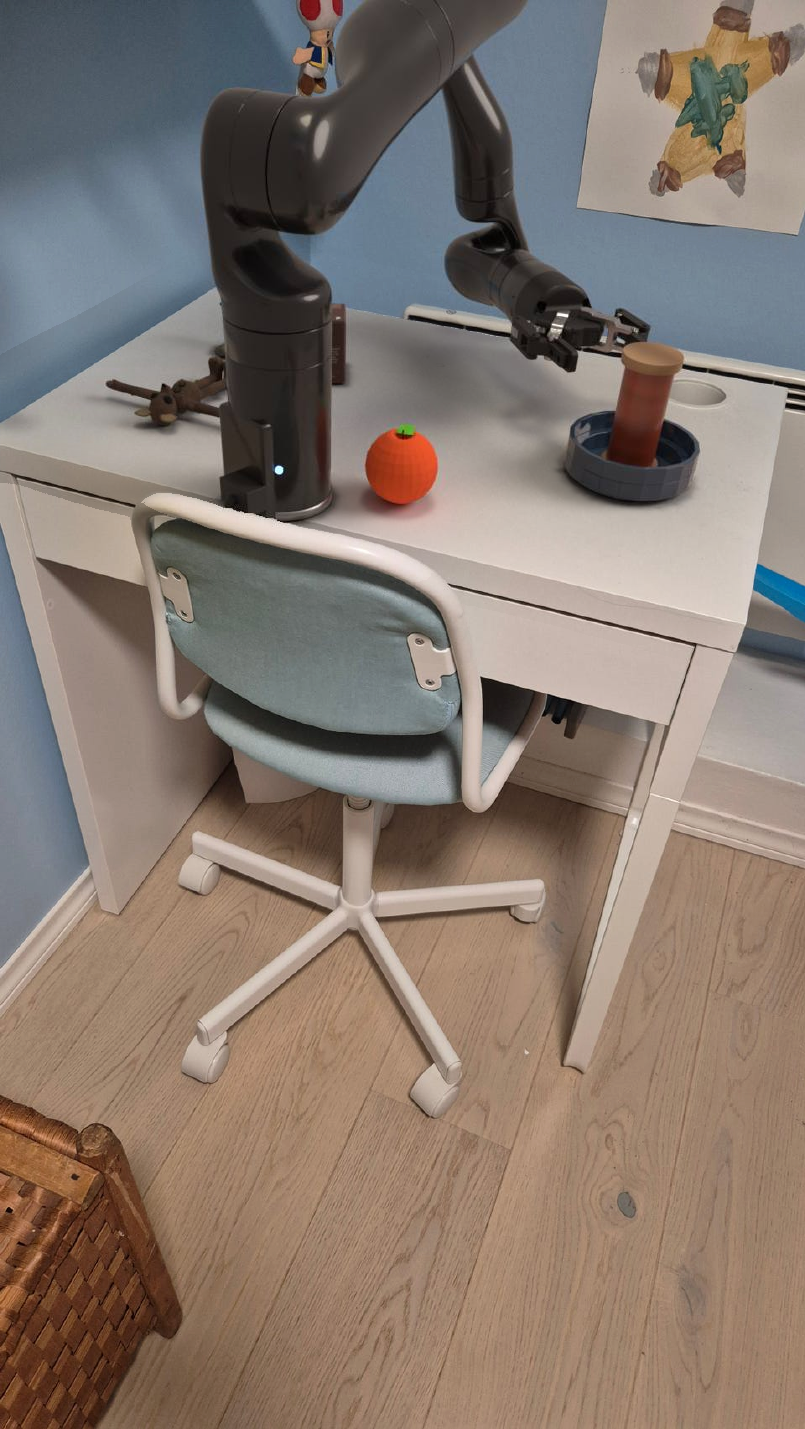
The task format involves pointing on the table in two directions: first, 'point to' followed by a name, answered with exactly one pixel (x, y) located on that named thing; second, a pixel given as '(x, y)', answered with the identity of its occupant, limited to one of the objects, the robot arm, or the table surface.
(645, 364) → the spool
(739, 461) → the table surface
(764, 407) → the table surface
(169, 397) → the bear figurine
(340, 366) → the box
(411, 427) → the clementine
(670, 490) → the bowl
